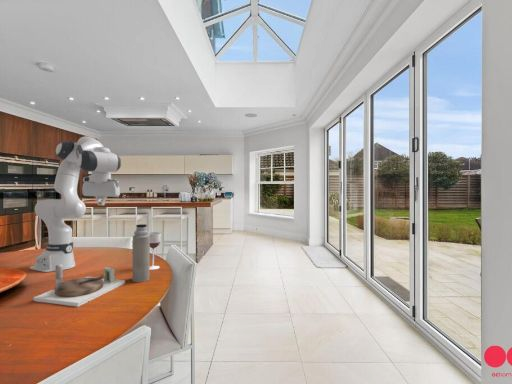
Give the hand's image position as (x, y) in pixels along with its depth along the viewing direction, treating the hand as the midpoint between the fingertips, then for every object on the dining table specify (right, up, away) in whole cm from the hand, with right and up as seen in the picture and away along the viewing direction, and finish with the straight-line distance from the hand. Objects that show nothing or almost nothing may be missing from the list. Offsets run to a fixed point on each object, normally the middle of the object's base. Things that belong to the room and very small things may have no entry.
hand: (101, 205), depth 145 cm
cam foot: (+3, -36, -23) cm, 43 cm away
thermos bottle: (+23, -38, -5) cm, 44 cm away
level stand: (+4, -37, -21) cm, 43 cm away
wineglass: (+21, -37, +16) cm, 46 cm away
